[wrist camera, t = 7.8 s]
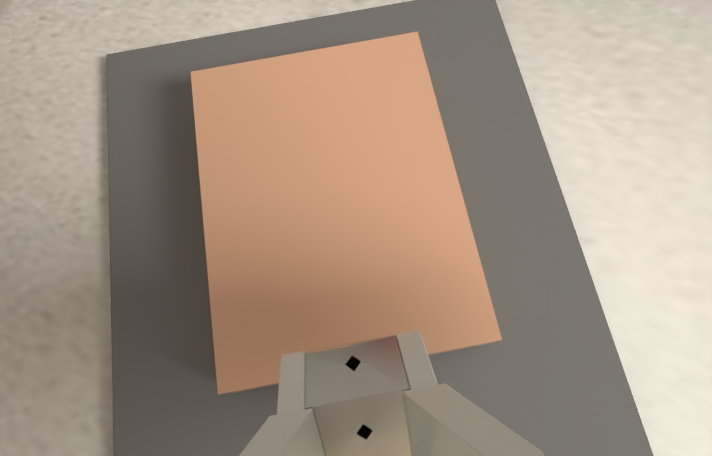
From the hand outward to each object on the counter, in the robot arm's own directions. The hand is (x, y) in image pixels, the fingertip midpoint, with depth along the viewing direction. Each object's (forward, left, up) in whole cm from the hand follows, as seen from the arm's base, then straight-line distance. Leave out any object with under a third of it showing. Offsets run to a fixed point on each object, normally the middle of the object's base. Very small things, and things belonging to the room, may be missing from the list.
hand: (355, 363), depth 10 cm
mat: (-3, -4, -7) cm, 9 cm away
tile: (0, 0, -5) cm, 6 cm away
